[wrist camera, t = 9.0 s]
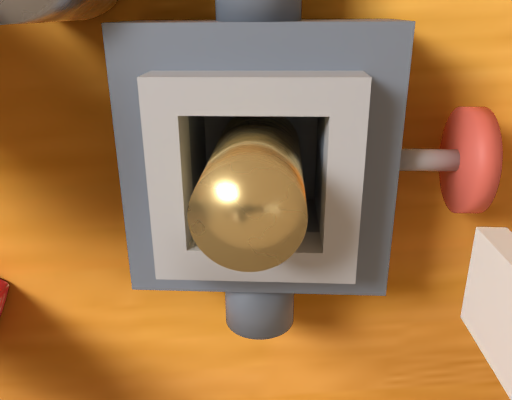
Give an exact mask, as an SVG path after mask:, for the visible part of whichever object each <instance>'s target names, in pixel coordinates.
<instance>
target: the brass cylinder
mask: <svg viewBox="0 0 512 400" xmlns="http://www.w3.org/2000/svg"><path fill="white" fill-rule="evenodd" d="M187 219H188V226H189V230H190V233H191V235H192V237H193V240H194V241H195V243H196V245H197V246H198V247H199V249H200V250H201V251H202V252H203V253H204V254H205V255H206V256H207V257H208V258H209V259H211V260H212V261H214V262H215V263H217V264H219V265H221V266H223V267H225V268H228V269H231V270H235V271H241V272H258V271H264V270H267V269H271V268H273V267H275V266H278V265H280V264H281V263H283V262H285V261H286V260H287V259H288V258H290V257H291V256H292V255H293V254H294V253H295V252H296V250H297V249H298V248H299V246H300V245H301V243H302V241H303V239H304V236H305V234H306V230H307V224H308V213H307V204H306V195H305V187H304V179H303V170H302V162H301V153H300V145H299V139H298V135H297V132H296V130H295V128H294V127H293V125H292V124H291V123H290V121H289V120H288V119H287V118H285V117H284V116H235V117H233V118H232V119H231V120H230V121H229V123H228V124H227V125H226V127H225V129H224V131H223V133H222V135H221V137H220V139H219V141H218V143H217V145H216V147H215V149H214V151H213V153H212V155H211V157H210V159H209V161H208V163H207V165H206V167H205V169H204V171H203V173H202V175H201V177H200V179H199V181H198V183H197V185H196V187H195V189H194V191H193V193H192V195H191V198H190V201H189V204H188V211H187Z"/></svg>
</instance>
